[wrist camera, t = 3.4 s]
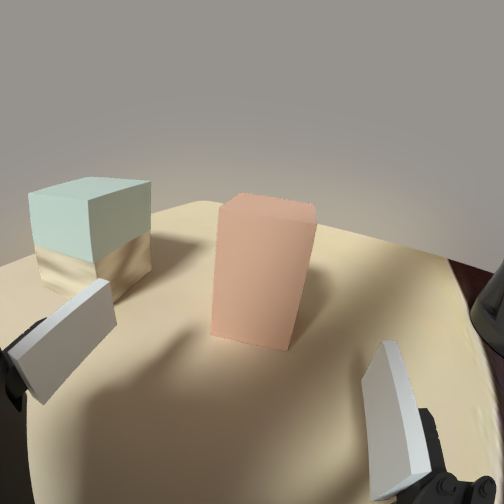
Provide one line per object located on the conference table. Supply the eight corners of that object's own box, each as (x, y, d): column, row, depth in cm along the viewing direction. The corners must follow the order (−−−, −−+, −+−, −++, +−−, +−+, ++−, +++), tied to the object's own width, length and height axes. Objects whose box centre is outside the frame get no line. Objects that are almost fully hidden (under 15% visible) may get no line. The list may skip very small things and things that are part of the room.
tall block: (287, 351, 20) (317, 224, 16) (210, 334, 20) (219, 207, 17) (292, 309, 25) (314, 204, 21) (230, 296, 26) (241, 192, 22)
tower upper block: (93, 263, 19) (87, 200, 17) (34, 244, 20) (28, 193, 18) (150, 229, 27) (151, 181, 25) (90, 218, 28) (88, 176, 26)
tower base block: (103, 314, 21) (94, 262, 19) (43, 288, 22) (34, 244, 20) (151, 271, 29) (150, 228, 27) (93, 256, 30) (89, 218, 28)
